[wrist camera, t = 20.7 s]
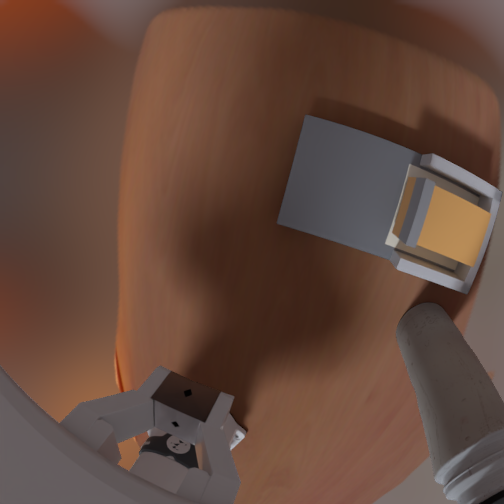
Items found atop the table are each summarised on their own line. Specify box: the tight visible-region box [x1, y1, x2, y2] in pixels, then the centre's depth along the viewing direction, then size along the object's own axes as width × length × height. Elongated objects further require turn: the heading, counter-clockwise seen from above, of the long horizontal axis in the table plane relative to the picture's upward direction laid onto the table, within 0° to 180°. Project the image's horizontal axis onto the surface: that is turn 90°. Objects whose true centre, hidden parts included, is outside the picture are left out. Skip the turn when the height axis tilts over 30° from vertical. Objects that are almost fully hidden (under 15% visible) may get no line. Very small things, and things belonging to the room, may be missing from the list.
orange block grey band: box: [392, 177, 491, 267], centre depth 22 cm, size 6×10×6 cm, turn 76°
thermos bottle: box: [396, 303, 504, 504], centre depth 18 cm, size 8×8×28 cm
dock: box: [277, 114, 502, 294], centre depth 26 cm, size 12×23×6 cm, turn 76°
